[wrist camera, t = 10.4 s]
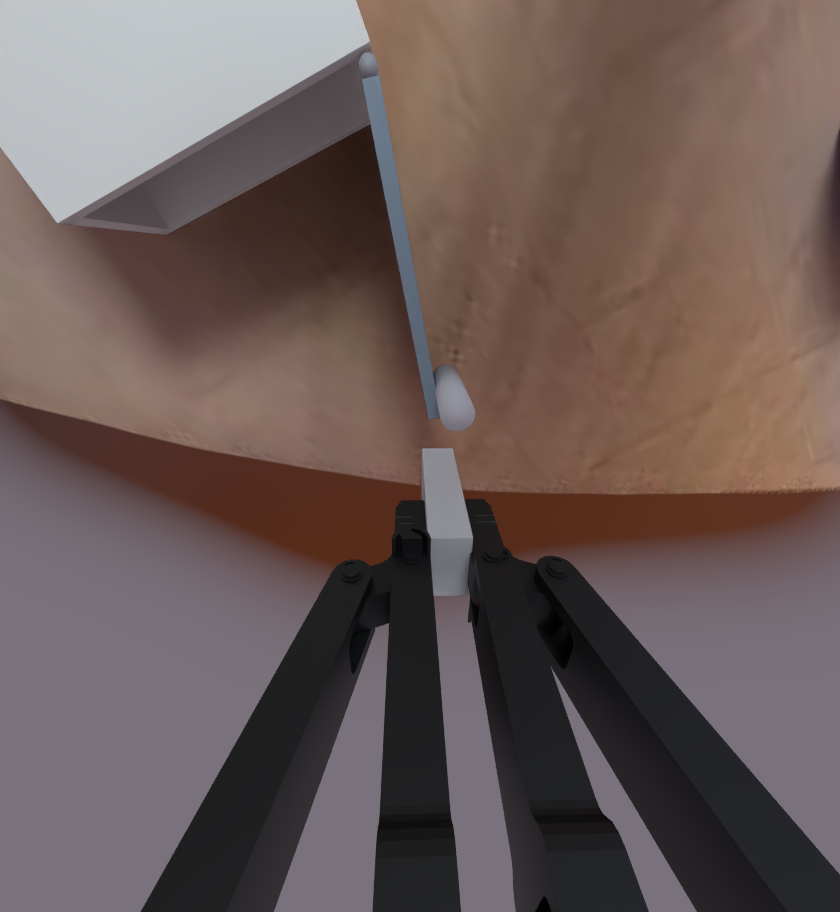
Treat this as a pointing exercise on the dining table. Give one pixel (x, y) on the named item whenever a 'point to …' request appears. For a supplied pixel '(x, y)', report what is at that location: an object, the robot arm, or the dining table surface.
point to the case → (172, 100)
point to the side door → (412, 269)
